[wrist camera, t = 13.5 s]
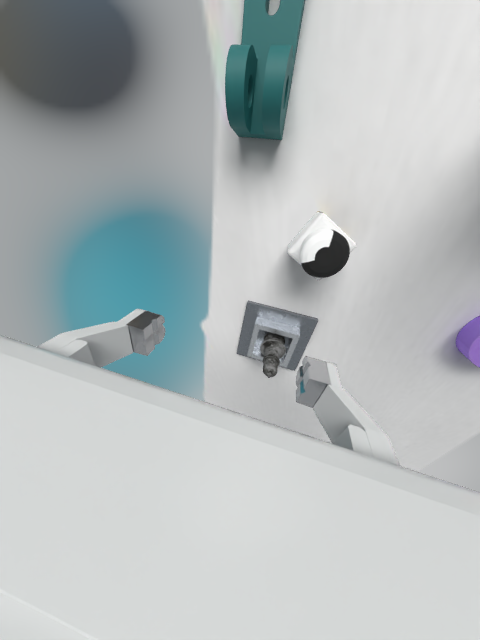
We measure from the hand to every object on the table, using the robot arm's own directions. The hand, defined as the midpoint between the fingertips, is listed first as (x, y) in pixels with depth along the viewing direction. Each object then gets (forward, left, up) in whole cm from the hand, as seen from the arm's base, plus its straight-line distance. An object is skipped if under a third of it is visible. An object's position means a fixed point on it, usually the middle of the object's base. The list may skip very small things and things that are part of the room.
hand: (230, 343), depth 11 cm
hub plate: (-5, +21, -31) cm, 38 cm away
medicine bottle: (-7, -2, -31) cm, 32 cm away
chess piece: (-6, +21, -30) cm, 38 cm away
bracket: (+7, -23, -32) cm, 40 cm away
